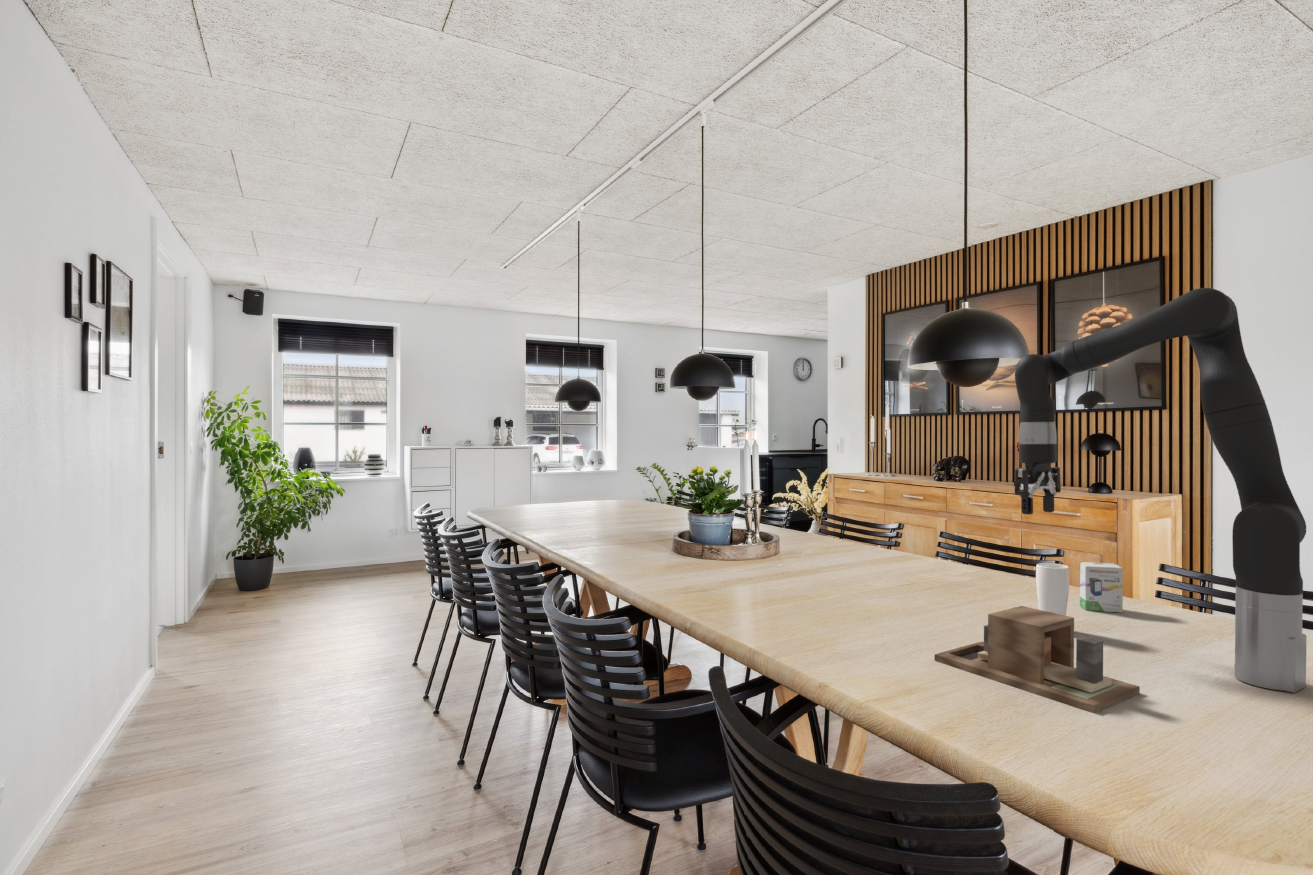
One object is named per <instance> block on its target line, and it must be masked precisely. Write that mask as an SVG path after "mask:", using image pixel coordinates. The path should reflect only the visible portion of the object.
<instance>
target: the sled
mask: <svg viewBox="0 0 1313 875" xmlns="http://www.w3.org/2000/svg"><path fill="white" fill-rule="evenodd" d="M1075 641H1076V647H1075V648H1076V649H1075V655H1076V656H1075V657H1076V659H1075V660H1076V661H1075V662H1076V663H1075V667H1074V668H1071V667H1068V666H1064V665H1061V664H1057V663H1054V662H1051V637H1049V636H1045V635H1044V678H1045V679H1048V680H1052V681H1055V682H1058V683H1061V684H1065V685H1068V686H1071V687H1074V688H1078V689H1081V690H1084V691H1087V692H1091V693H1092V692H1095V691H1097V690H1100V689H1102V688H1105V687H1107V686H1110V685H1112V679H1113V678H1112V679H1110V678H1111V677H1108V678H1106V677H1107V676H1105V677H1103V676H1104V640H1101V639H1098V638H1095V637H1089V636H1082V637H1079V638H1076V640H1075ZM983 642H984V651H982V652H978V658H980V659H984V660H987V661H988V624H986V625H984V626H983ZM1075 668H1076V669H1075Z"/></svg>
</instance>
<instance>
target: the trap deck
mask: <svg viewBox="0 0 1313 875" xmlns="http://www.w3.org/2000/svg"><path fill="white" fill-rule="evenodd" d="M987 625H988V661H987V660H984V659H980V658H978V652H982V651H984V641H978V642H975V643H971V644H967V645H964V646H961V647H956V648H954V649H948V650H945V651H942V652H938V653H935V654H934V662H938V663H942V664H945V665H948V666H951V667H953V668H957V669H960V670H962V671H963V670H964V671H965V672H969V673H972V674H974V675H978V676H981V677H984V678H988V679H990V680H993V681H996V682H999V683H1001V684H1005V685H1008V686H1011V687H1014V688H1017V689H1021V690H1023V691H1027V692H1029V693H1032V694H1035V695H1038V696H1041V697H1045V698H1048V699H1051V700H1053V701H1056V702H1060V703H1062V704H1064V705H1069V706H1072V707H1074V708H1077V709H1080V710H1083V711H1087V712H1090V713H1092V714H1095V713H1097V712H1099V711H1102V710H1104V709H1106V708H1108V707H1111V706H1113V705H1115V704H1118V703H1120V702H1123V701H1125V700H1127V699H1129V698H1131V697H1134V696H1136V695H1139V694H1140V690H1141V688H1140V686H1139V685H1136V684H1133V683H1129V682H1125V681H1122V680H1118V679H1115V678H1111V677H1108V676H1104V675H1103V677H1106V678H1110V679H1112V685H1110V686H1107V687H1105V688H1102V689H1100V690H1097V691H1095V692H1092V693H1091V692H1087V691H1084V690H1081V689H1078V688H1074V687H1071V686H1068V685H1065V684H1061V683H1058V682H1055V681H1052V680H1048V679H1045V678H1044V635H1045V636H1049V637H1051V662H1054V663H1057V664H1061V665H1064V666H1068V667H1071V668H1075V669H1076V667H1075V617H1073V616H1068V615H1066V616H1064V615H1060V614H1056V613H1051V612H1047V611H1042V610H1038V608H1033V607H1028V606H1023V605H1020V606H1019V605H1018V606H1016V607H1011V608H1007V609H1004V610H998V611H995V612H991V613H988V614H987Z"/></svg>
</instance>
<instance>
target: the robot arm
mask: <svg viewBox="0 0 1313 875" xmlns="http://www.w3.org/2000/svg"><path fill="white" fill-rule="evenodd" d="M1238 315H1239V313H1238V309H1237V305H1236V303H1235V302H1234V300H1233V299H1232V298H1231V297H1230V296H1229V295H1227V294H1225V293H1224V292H1223V291H1220V290H1218V289H1215V288H1212V287H1199V288H1195V289H1192V290H1189V291H1187V292H1186V293H1184V294H1181V295H1179V296H1178V297H1175V298H1174V299H1172V300H1171V301H1169V302H1166V303H1165V304H1162V305H1160V306H1159V307H1156V308H1155V309H1152V310H1151V311H1149V312H1147V313H1146V312H1145V313H1143V314H1142V315H1140V316H1138V317H1136V318H1132V319H1130V320H1128V321H1125V322H1123V323H1120V324H1117V325H1114V326H1111V327H1109V328H1106V329H1103V330H1100V331H1098V332H1095V333H1092V334H1089V335H1086V336H1084V337H1080V338H1078V339H1075V340H1072V341H1070V342H1068V343H1066V344H1064V345H1063V346H1062V347H1061V348H1060V349H1057V350H1054V351H1052V352H1050V353H1046V354H1042V355H1041V354H1036V353H1032V354H1027V355H1026V354H1025V355H1024V356H1022V357H1021V358H1020V359H1019V360H1018V362H1017V364H1016V366H1015V370H1014V381H1015V388H1016V393H1017V397H1018V400H1019V406H1020V407H1019V430H1018V455H1019V456H1018V461H1019V463H1021V464H1024V467H1023V468H1022V467H1021V468H1020V467H1017V468H1015V470H1014V494H1015V495H1016V496H1017V495H1018V496H1019V497H1020V498H1021V513H1022V514H1023V515H1033V514H1034V498H1033V497H1034V494H1035V492H1036V491H1038V489H1041V491H1042V492H1041V493H1042V494H1043V495H1042V510H1043V512H1044V513H1054V512H1055V496H1057V493H1061V492H1062V491H1061V490H1062V489H1061V487H1062V486H1061V468H1060V467H1059V466H1052V464H1055V463H1057V461H1058V456H1057V454H1058V453H1057V444H1058V443H1057V441H1058V440H1057V427H1056V405H1055V401H1054V399H1053V397H1051V394H1050V389H1049V388H1050V387H1049V385H1052V384H1055V383H1057V382H1060V381H1062V380H1065V379H1066V378H1067V379H1068V378H1070V377H1071V376H1074V375H1075V374H1077V373H1082V372H1086V371H1089V370H1092V369H1095V368H1098V367H1100V366H1104V365H1107V364H1109V363H1111V362H1115V361H1118V360H1119V359H1121V358H1123V357H1127V356H1128V355H1130V354H1131V353H1134V352H1136V351H1138V350H1140V349H1143V348H1146V347H1147V346H1151V345H1155V344H1156V343H1160V342H1163V341H1168V340H1171V339H1172V340H1173V339H1176V338H1182V337H1187V339H1188V341H1189V343H1190V345H1191V348H1192V351H1193V353H1194V355H1195V358H1196V362H1197V363H1198V369H1199V379H1200V385H1199V386H1200V400H1201V406H1202V411H1203V412H1202V413H1203V416H1204V419H1205V422H1206V425H1207V429H1208V432H1209V435H1210V438H1211V440H1212V443H1213V445H1214V446H1215V448H1216V450H1217V452H1218V454H1219V455H1220V457H1221V459H1222V461H1223V463H1224V464H1225V465H1226V467H1227V469H1228V470H1229V472H1230V473H1231V476H1232V478H1233V480H1234V483H1235V486H1236V490H1237V494H1238V498H1239V501H1240V508H1241V510H1240V511H1239V512H1238V513H1237V515H1236V516H1235V518H1234V520H1233V524H1232V539H1231V540H1232V568H1233V571H1234V572H1233V573H1234V576H1235V608H1234V610H1235V614H1234V617H1235V620H1234V626H1235V627H1234V677H1235V679H1237V680H1239V681H1241V682H1243V683H1246V684H1248V685H1253V686H1255V687H1258V688H1263V689H1269V690H1276V691H1284V692H1288V693H1289V692H1290V693H1298V691H1300V690H1302V689H1304V688H1305V687H1306V686H1307V635H1306V633H1303V609H1304V608H1303V605H1304V604H1303V602H1304V601H1303V599H1304V597H1303V596H1304V595H1303V593H1304V580H1303V578H1302V574H1301V567H1300V566H1301V565H1300V564H1301V561H1300V560H1301V559H1300V557H1301V555H1300V554H1301V551H1300V550H1301V547H1300V546H1301V545H1300V544H1301V543H1302V542H1303V540H1304V539H1305V536H1306V534H1307V523H1306V520H1305V518H1304V515H1303V514H1302V511H1301V509H1300V507H1299V505H1298V503H1297V501H1296V499H1295V497H1294V494H1293V492H1292V489H1291V488H1290V485H1289V484H1288V481H1287V479H1286V477H1285V473H1284V470H1283V465H1282V459H1281V456H1280V451H1279V450H1280V449H1279V446H1278V442H1277V438H1276V434H1275V430H1274V426H1273V423H1272V420H1271V415H1270V413H1269V410H1268V406H1267V404H1266V401H1265V398H1264V396H1263V393H1262V390H1261V388H1260V385H1259V383H1258V380H1257V378H1256V375H1255V373H1254V371H1253V369H1252V367H1251V365H1250V363H1249V360H1248V358H1247V356H1246V353H1245V349H1244V344H1243V340H1242V339H1243V338H1242V333H1241V328H1240V323H1239V322H1240V321H1239V316H1238Z"/></svg>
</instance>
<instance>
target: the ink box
mask: <svg viewBox="0 0 1313 875" xmlns="http://www.w3.org/2000/svg"><path fill="white" fill-rule="evenodd" d="M1079 564H1080V567H1079V568H1080V569H1079V570H1080V571H1079V606H1080V607H1081V608H1082V609H1083V610H1085V611H1091V612H1104V613H1105V612H1109V613H1123V612H1124V611H1123V610H1124V607H1123V604H1124V600H1123V598H1124V597H1123V596H1124V595H1123V593H1124V592H1123V577H1124V576H1123V575H1124V574H1123V571H1124V569H1123V567H1122V566H1120V565H1118V564H1117V563H1109V562H1106V563H1105V562H1092V561H1091V562H1090V561H1088V562H1087V561H1082V562H1080V563H1079Z"/></svg>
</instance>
